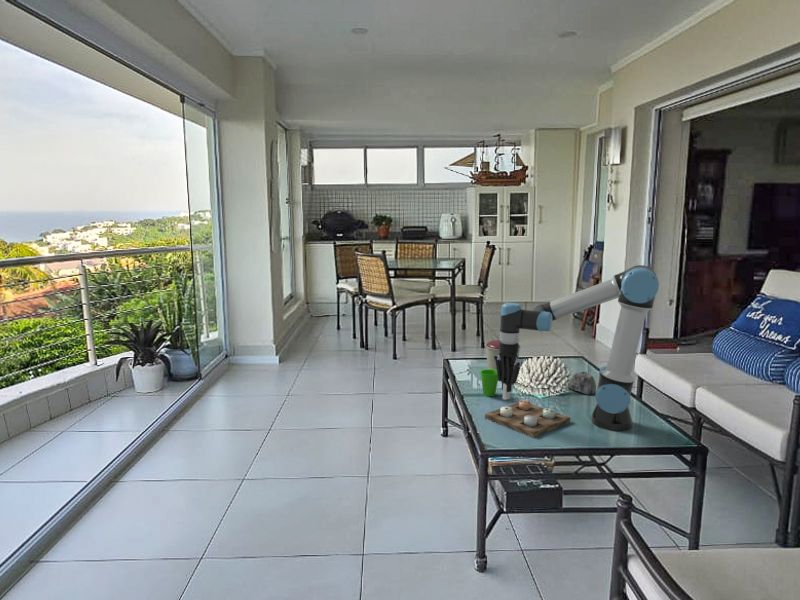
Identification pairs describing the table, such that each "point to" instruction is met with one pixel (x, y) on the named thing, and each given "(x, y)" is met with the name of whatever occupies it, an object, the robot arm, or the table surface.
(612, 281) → the robot arm
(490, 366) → the canister
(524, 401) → the button three
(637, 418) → the table surface
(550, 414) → the button two
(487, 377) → the cup
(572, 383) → the mineral rock
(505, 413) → the button one
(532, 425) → the button blank
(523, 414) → the panel
